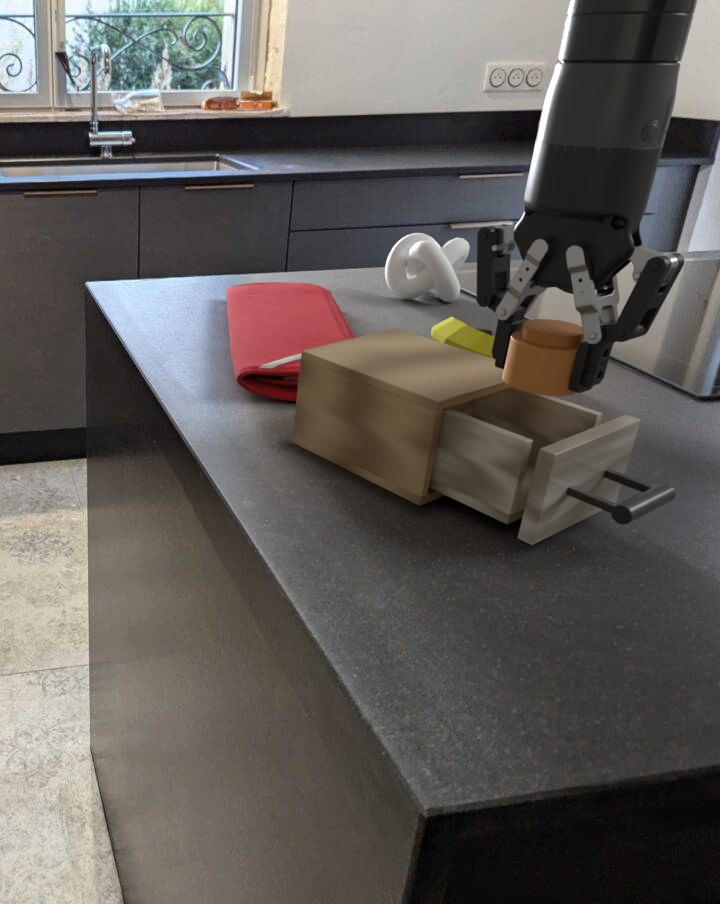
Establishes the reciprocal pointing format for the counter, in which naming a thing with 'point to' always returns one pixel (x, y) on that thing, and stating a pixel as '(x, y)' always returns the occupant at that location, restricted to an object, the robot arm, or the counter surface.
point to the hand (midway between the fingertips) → (541, 376)
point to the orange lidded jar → (543, 357)
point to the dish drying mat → (279, 333)
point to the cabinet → (386, 404)
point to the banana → (464, 336)
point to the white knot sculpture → (425, 266)
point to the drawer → (539, 462)
